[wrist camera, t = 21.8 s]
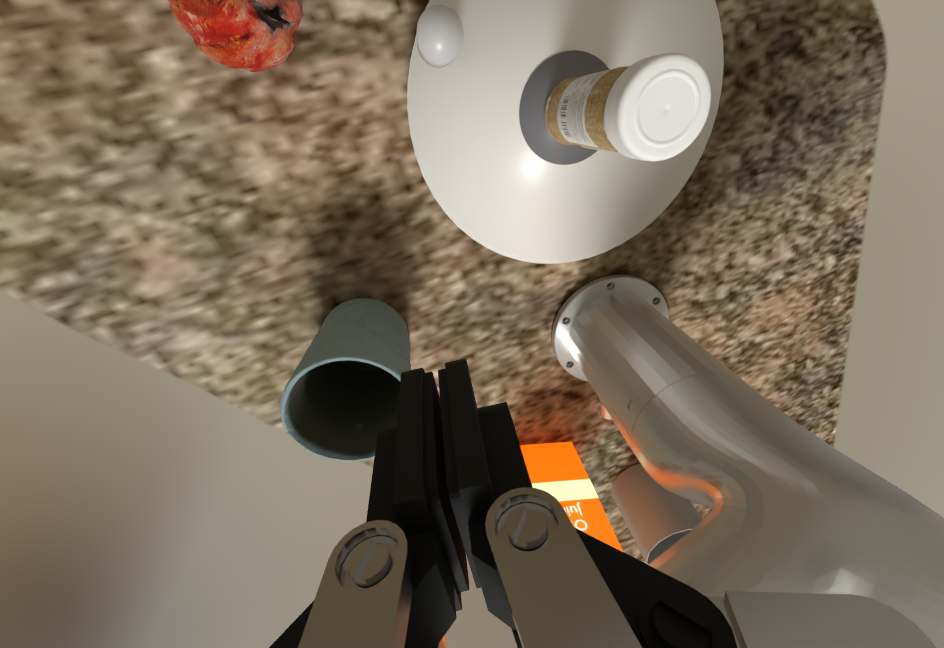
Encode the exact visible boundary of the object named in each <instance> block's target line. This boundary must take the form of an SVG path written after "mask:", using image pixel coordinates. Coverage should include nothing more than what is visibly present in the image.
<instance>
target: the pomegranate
mask: <svg viewBox="0 0 944 648" xmlns="http://www.w3.org/2000/svg"><path fill="white" fill-rule="evenodd" d="M169 4H170V8H171V10H172V13H173V15H174V17H175V18H176V19H177V21H178V22H179V23H180V24H181V26H182V27H183V28H184V29H185V30H186V32H188V33H189V35H190V36H192V38H193V39H194V43H195V45H196V46H197V47H198V48H199V49H200V50H201V51H202V52H203V53H204V54H206V55H207V56H208V57H209V58H211V59H213V60H215V61H216V62H219V63H221V64H223V65H226V66H228V67H232V68H244V69H247V70H249V71H251V72H258V71H263V70H266V69H268V68H272V67H274V66H277V65H279V64H281V63H283V62H284V61H285V60H286V59H287V58H288V55H289V54H290V52H291V51H292V50H293V48H294V32H295V30H296V28H297V27H298V26H299V23H300V21H301V19H302V3H301V1H300V0H169Z"/></svg>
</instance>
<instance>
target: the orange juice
mask: <svg viewBox="0 0 944 648" xmlns="http://www.w3.org/2000/svg"><path fill="white" fill-rule="evenodd" d="M520 447H521V451H522V454H523V457H524V460H525V464H526V467H527V470H528V474H529V477H530V480H531V483H532V487H533V488H537V489H540V490H543V491H546V492H548V493H549V494H551V495H552V496H553V497H555V498H556V499H557V500H558V501H559V503H560V504H561V505H562V507H563V508H564V510H565V512H566V513H567V515H568V517H569V519H570V520H571V522H572V524H573V526H574V527H575V528H577V529H579V530H581V531H583V532H585V533H587V534H588V535H590V536H592V537H594V538H596V539H598V540H600V541H602V542H604V543H606V544H608V545H610V546H612V547H614V548H616V549H618V550H620V551H622V548H621V546H620V544H619V542H618V540H617V538H616V536H615V533H614V531H613V529H612V527H611V525H610V523H609V521H608V518H607V516H606V514H605V512H604V510H603V508H602V506H601V503H600V501H599V499H598V496H597V494H596V492H595V489H594V487H593V485H592V483H591V481H590V479H589V478H588V476H587V473H586V471H585V469H584V467H583V465H582V463H581V461H580V458H579V456H578V454H577V452H576V450H575V448H574V446H573V443H572V442H560V443H546V444H531V445H520Z"/></svg>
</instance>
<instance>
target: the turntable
mask: <svg viewBox="0 0 944 648" xmlns="http://www.w3.org/2000/svg"><path fill="white" fill-rule="evenodd" d="M665 53H682V54H685V55H688V56H691V57H692V58H694V59H695V60H696V61H697V62H698V63H699V64H701V66H702V67H703V68H704V70H705V72H706V74H707V76H708V79H709V82H710V87H711V104H710V109H709V113H708V117H707V119H706V122H705V124H704V126H703V128H702V130H701V132H700V133H699V135H698V136H697V137H696V139H695V140H694V141H693V142H692V143H691V144H690V145H689V146H688V147H687V148H686V149H685V150H683V151H682V152H681V153H679V154H677V155H675V156H674V157H672V158H669V159H666V160H662V161H643V160H637V159H632V158H629V157H626V156H624V155H622V154H621V153H619V152H613V151H606V150H594V149H589V148H584V147H581V146H579V145H566V144H562V143H559V142H558V141H557V140H555V139H554V138H553V137H552V136H551V135H550V133H549V132H548V130H547V128H546V124H545V120H544V115H545V114H544V110H545V105H546V101H547V99H548V97H549V95H550V93H551V92H552V90H553V89H554V88H555V87H556V86H557V85H558V84H559V83H561V82H562V81H564V80H566V79H569V78H572V77H579V78H580V77H582V76H584V75H588V74H592V73H597V72H601V71H605V70H610V69H614V68H618V67H624V66H631V65H632V64H634V63H635V62H637V61H639V60H642V59H644V58H647V57H650V56H654V55H659V54H665ZM723 68H724V56H723V37H722V30H721V23H720V17H719V13H718V9H717V6H716V2H715V0H430V1H429V3H428V5H427V6H426V9H425V11H424V12H423V13H422V15H421V16H420V18H419V21H418V24H417V33H416V38H415V42H414V46H413V50H412V55H411V59H410V67H409V76H408V84H407V110H408V119H409V127H410V135H411V139H412V143H413V147H414V151H415V156H416V158H417V161H418V164H419V167H420V169H421V172H422V175H423V177H424V179H425V181H426V183H427V185H428V187H429V189H430V191H431V193H432V194H433V196H434V198H435V199H436V200H437V202H438V203H439V205H440V206H441V208H442V209H443V211H444V212H445V213H446V214H447V215H448V216H449V218H450V219H451V220H452V221H453V222H454V223H455V224H456V225H457V226H458V227H459V228H460V229H461V230H462V231H464V232H465V233H466V234H467V235H468V236H470V237H471V238H472V239H474V240H475V241H477V242H478V243H480V244H481V245H483V246H485V247H486V248H488V249H490V250H492V251H494V252H497V253H499V254H501V255H503V256H507V257H510V258H513V259H516V260H520V261H526V262H532V263H546V264H556V263H566V262H573V261H578V260H582V259H587V258H590V257H593V256H596V255H598V254H601V253H604V252H606V251H608V250H610V249H613V248H615V247H617V246H619V245H621V244H622V243H624V242H626V241H627V240H629V239H630V238H632V237H633V236H635V235H637V234H638V233H639V232H640V231H642V230H643V229H644V228H645V227H647V226H648V225H649V224H650V223H652V222H653V221H654V220H655V219H656V218H657V217H658V216H659V215H660V214H661V213H662V212H663V211H664V210H665V209H666V208H667V207H668V206H669V205H670V203H671V202H672V201H673V200H674V198H675V197H676V196H677V195H678V194H679V192H680V191H681V190H682V188H683V187H684V185H685V184H686V182H687V181H688V179H689V178H690V176H691V175H692V173H693V171H694V169H695V167H696V165H697V164H698V162H699V160H700V158H701V156H702V154H703V152H704V149H705V147H706V144H707V142H708V139H709V137H710V135H711V132H712V128H713V125H714V122H715V118H716V115H717V111H718V106H719V101H720V96H721V90H722V80H723Z"/></svg>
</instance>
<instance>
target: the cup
mask: <svg viewBox="0 0 944 648" xmlns="http://www.w3.org/2000/svg"><path fill="white" fill-rule="evenodd" d="M611 494H612V496H613V498H614V500H615V502H616V504H617V506H618V508H619V510H620V512H621V514H622V516H623V518H624V520H625V522H626V524H627V526H628V528H629V530H630V532H631V534H632V536H633V538H634V540H635V542H636V544H637V546H638V548H639V550H640V552H641V554H642V556H643V558H644V560H645V562H646V563H647V565H648V564H650V563H651V562H652V561H653V560H655V559H656V558H657V557H659V556H660V555H661V554H662V553H664V552H665V551H666V550H667V549H669V548H670V547H671V546H672V545H674V544H675V543H676V542H677V541H679V540H680V539H681V538H683V537H684V536H685V535H686V534H688V533H689V532H690V531H691V530H693V528H694V527H695V526H696V525H697V524H698V523H699V522H701V521H702V520H703V519H702V518H701V517H700V515H699V514H698V512H697V511H696V509H695V508H694V507H693V505H692V504H691V502H690V501H689V500H687V499H684V498H681V497H679V496H677V495H675V494H673V493H671V492H669V491H668V490H666V489H665V488H663V487H662V486H660V485H659V484H658V483H657V482H656V481H655V480H654V479H653V478H651V476H650V475H649V474H648V473H647V472H646V470H645V469H644V468H643V466H642V465H641V464H637V465H633V466H631V467H629V468H628V469H626V470H625V471H623V472H622V473H620V474H619V475H618V477H617V478H616V479H615V481H614V482H613V483H612V488H611Z"/></svg>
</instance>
